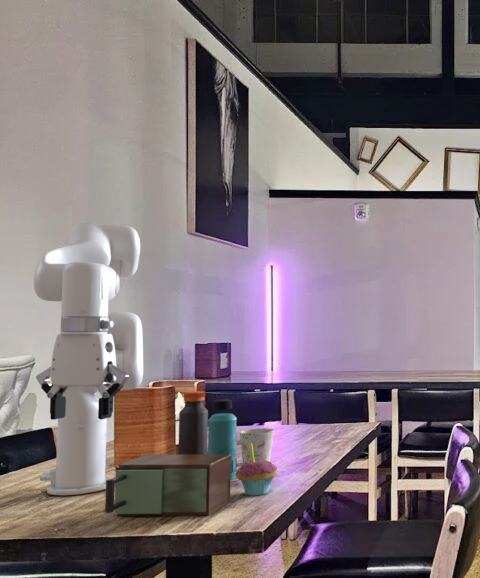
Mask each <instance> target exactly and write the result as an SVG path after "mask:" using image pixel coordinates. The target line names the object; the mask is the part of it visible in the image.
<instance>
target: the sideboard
mask: <svg viewBox="0 0 480 578" xmlns="http://www.w3.org/2000/svg"><path fill="white" fill-rule="evenodd" d="M118 470H163V491H162V513H161V514H117V516H118V517H148V516H149V517H151V516H152V517H154V516H155V517H159V516H160V517H162V516H164V517H165V516H168V517H169V516H171V517H173V516H186V517H187V516H210V515H212V514H213V513H215V512H216V511H217V510H219V509H221V508H222V507H224V506H225V505H227V504H228V503H230V502H231V483H232V482H231V481H232V480H231V454H208V453H207V454H180V455H178V454H145V455H142V456H138V457H137V458H134V459H131V460H128V461H126V462H123V463H120V464H118Z"/></svg>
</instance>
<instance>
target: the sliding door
mask: <svg viewBox="0 0 480 578" xmlns="http://www.w3.org/2000/svg"><path fill="white" fill-rule="evenodd" d="M162 491H163V470H119V469H115V477H113V478H110V479H108V480H106V489H105V496H104V513H105V514H110V513H114V515H118V514H161V513H162Z"/></svg>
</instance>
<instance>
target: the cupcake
mask: <svg viewBox="0 0 480 578" xmlns="http://www.w3.org/2000/svg"><path fill="white" fill-rule="evenodd" d="M249 441H250V440H249ZM249 447H250V455H251V462H249V463H246V464H244V465H242V466H240V467H238V468H237V471H236V473H237V475H236V478H237V480H238V481H240V482H241V484H242V487H243V489H244V493H245V495H247V496H261V495H265V494H268V493H269V491H270V487H271V484H272V482H273V479H274V478H276V477H278V467H277V466H276V465H275V463H273V462H271V461H270V462H269V461H266V460H263V461H262V460H257V461H254V454H253V445H252V443H251V441H250V444H249Z"/></svg>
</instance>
